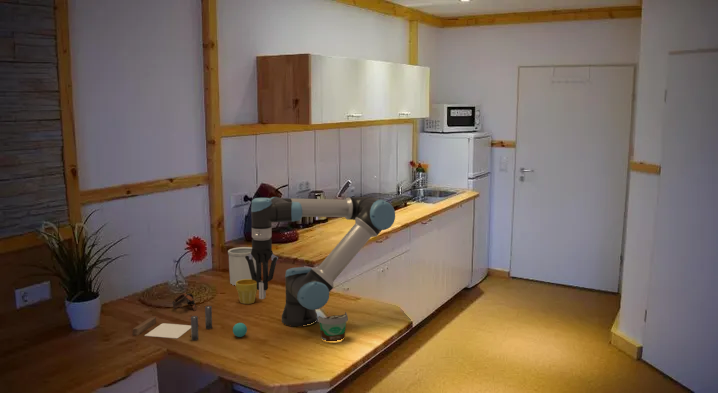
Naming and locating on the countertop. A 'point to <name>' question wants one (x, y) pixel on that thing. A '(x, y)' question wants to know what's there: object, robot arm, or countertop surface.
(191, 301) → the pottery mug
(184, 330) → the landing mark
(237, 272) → the utensil holder
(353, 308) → the countertop surface
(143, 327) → the wall
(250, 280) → the plant pot
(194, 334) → the post
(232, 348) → the countertop surface
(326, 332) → the food container
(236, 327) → the ball
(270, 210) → the robot arm
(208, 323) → the post
